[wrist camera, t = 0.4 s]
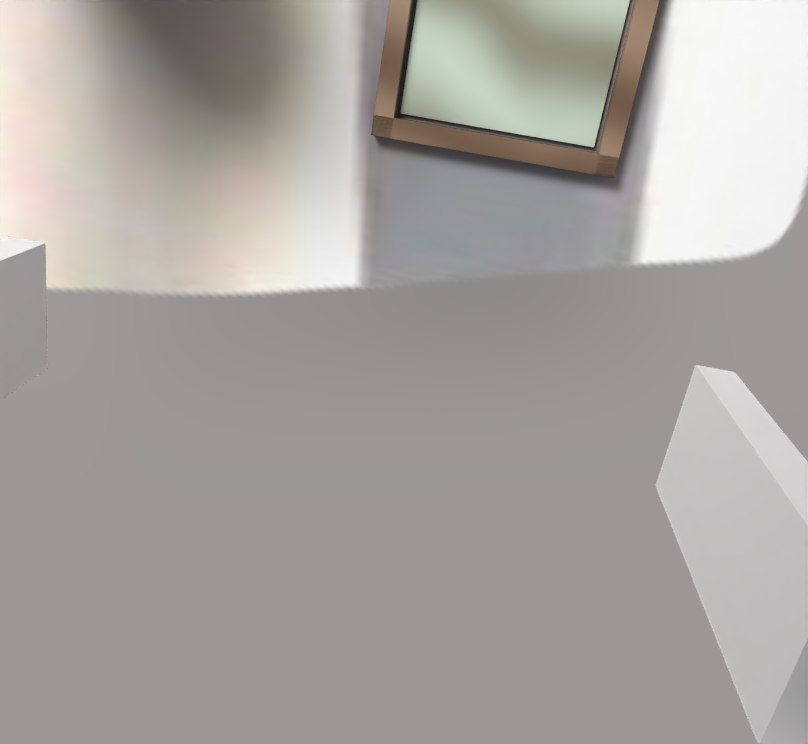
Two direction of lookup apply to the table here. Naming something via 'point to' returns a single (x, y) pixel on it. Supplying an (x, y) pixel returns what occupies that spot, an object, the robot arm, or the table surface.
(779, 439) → the robot arm
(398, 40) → the walnut frame
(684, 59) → the table surface
